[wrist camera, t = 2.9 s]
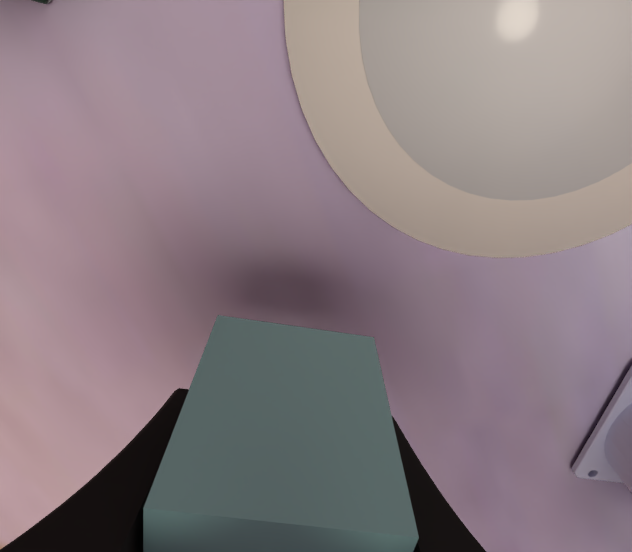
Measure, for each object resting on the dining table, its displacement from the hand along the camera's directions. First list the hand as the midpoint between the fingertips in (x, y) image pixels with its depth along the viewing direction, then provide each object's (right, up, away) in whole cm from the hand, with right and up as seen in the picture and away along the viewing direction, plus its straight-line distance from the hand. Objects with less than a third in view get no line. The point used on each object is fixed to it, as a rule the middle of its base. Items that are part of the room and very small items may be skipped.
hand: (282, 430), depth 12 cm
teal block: (0, +1, +2) cm, 2 cm away
